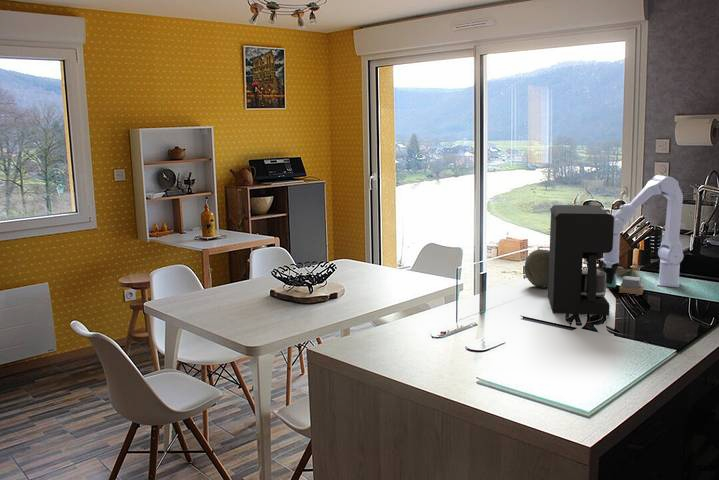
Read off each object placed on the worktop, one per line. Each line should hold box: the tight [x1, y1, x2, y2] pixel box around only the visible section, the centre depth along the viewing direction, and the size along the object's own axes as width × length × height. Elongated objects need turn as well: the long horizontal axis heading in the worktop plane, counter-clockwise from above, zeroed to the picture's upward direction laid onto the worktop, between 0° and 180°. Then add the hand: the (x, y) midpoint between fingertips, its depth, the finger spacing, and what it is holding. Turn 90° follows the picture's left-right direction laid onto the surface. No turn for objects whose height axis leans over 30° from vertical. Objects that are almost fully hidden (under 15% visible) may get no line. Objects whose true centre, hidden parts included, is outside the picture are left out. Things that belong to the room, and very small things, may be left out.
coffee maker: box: [547, 204, 614, 316], centre depth 239 cm, size 28×20×35 cm
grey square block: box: [621, 275, 641, 288], centre depth 261 cm, size 6×6×3 cm
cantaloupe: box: [524, 249, 550, 289], centre depth 271 cm, size 14×14×15 cm
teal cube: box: [606, 273, 618, 288], centre depth 272 cm, size 4×4×4 cm
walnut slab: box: [618, 282, 645, 296], centre depth 262 cm, size 8×8×3 cm
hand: (609, 282), depth 273 cm, fingers closed on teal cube, 4 cm apart
